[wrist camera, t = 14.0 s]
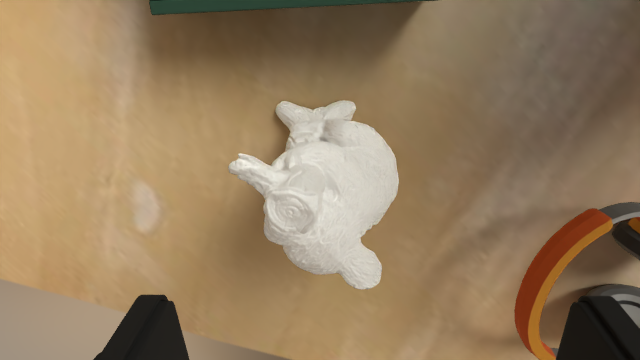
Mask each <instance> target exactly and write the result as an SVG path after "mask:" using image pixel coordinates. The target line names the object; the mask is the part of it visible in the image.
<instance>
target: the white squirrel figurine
mask: <svg viewBox="0 0 640 360" xmlns="http://www.w3.org/2000/svg"><path fill="white" fill-rule="evenodd" d="M355 110H356V106H355V103H354V102H351V101H345V100H341V101H337V102H333V103H331V104H329V105H328V106H326V107H318V108H316V109H313V110H312V109H309V108H306V107H302V106H298V105H296V104H293V103H290V102H288V101H281V102H280V104H278V105H277V107H276V110H275V112H276V114H277V116H278V117H279V118H280V119H281V120H282V122H283V123H284V124H285V125H286V126H287V127H288V128H289V130H290V135H289V138H288V141H287V143H286V150H285V152H284V153H283V154H281V155H280V156H279V157H278V158H276V159H275V160H274V161H273V162H272V165H271V166H270V165H268V164H265V163H264V162H262V161H261V160H259V159H257V158H255V157H254V156H251V155H245V154H242V153H239V154H238V156H239V158H238V159H237V160H236V161H232V162H231V163H230V165H229V167H228V168H229V173H232V174H235V175H238V176H237V178H238V179H240V180H244V181H246V182H247V183H248V184H250V185H252V186H254V188H255V189H256V190H257V191H258V192H259V193H260V194H262V195H263V196H264V199H265V200H266V201H265V203H264V206H263V209H264V213H265V214H266V215H265V219H264V222H265V224H264V234H265V236H266V237H267V239H268V240H270V241H271V242H273V243H277V244H280V245H282V246H283V250H284V252H285V254H286V255H287V256H288V258H289V259H290V260H291V262H292V263H294V264H295V265H296V266H298V267H299V268H301V269H303V270H305V271H309V272H311V273H313V274H322V275H325V274H334V273H339V274H341V275H342V277H343V278H344V280H345V281H346V282H347V284H349V285H350V286H353V287H354V288H356V289H370V288H373V287H374V286H376V285H377V284H378V283H379V282H380V278H381V272H382V266H381V263H380V262H379V260H378V258H377V256H376V255H375V253H374V252H373V251H371V250H369V249H368V248H366V247H365V246H364V245H363V244H362V243H361V239H360V238H361V237H362V236H364V235H365V233H366V230H370V229H371V227H372V225H376V224H378V223H379V221H380V220H381V219H382V217H383V216H384V214H385V213H386V211H387V210H388V208H389V206H390V204H391V203H392V201H394V198H395V197H396V194H397V190H398V184H399V178H398V172H397V165H396V158H395V155H394V153H393V152H392V150H391V148H390V147H389V146H388V145H387V143H386V142H385V140H384V138H382V137H381V135H380V134H379V133H377V132H376V130H375V129H374V128H373V127H370V126H368V125H367V124H364V123H359V122H355V121H350V120H351V119H352V117H353V114H354V112H355Z"/></svg>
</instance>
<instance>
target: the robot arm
mask: <svg viewBox="0 0 640 360" xmlns="http://www.w3.org/2000/svg"><path fill="white" fill-rule="evenodd" d="M94 360H189V356H188V353H187V349H186V345H185V342H184V338H183V335H182V330H181V327H180V323H179V319H178V316H177V312H176V308H175V305H174V302H173V301H168V299H167V297H166V296H165V295H140V296H139V297H138V298H137V299H136V300H135V302H134V303H133V305H132V306H131V308H130V309H129V311H128V313H127V314H126V316H125V317H124V319H123V320H122V322H121V324H120V325H119V326H118V328H117V330H116V331H115V333H114V334H113V336H112V337H111V339H110V340H109V342H108V343H107V345H106V347H105V348H104V350H103V351H102V352H101V353H99V354H98V355H97V356H96V357H95V358H94ZM556 360H640V328H639V327H638V326H637V325H636V324H635V322H634V321H633V320H632V319H631V317H630V316H629V315H628V314H627V313H626V311H625V310H624V309H623V308H622V307H621V305H620V304H619V303H618V302H617V301H616V300H615V299H614V298H613V297H611V296H581V297H580V298H579V300H578V302H574V303H572V305H571V307H570V311H569V314H568V318H567V321H566V325H565V328H564V332H563V335H562V339H561V343H560V346H559V350H558V353H557V357H556Z"/></svg>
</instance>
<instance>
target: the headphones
mask: <svg viewBox="0 0 640 360" xmlns="http://www.w3.org/2000/svg"><path fill="white" fill-rule="evenodd" d="M630 218H632V219H631V220H630V221H629V222H620V221H623V220H626V219H630ZM617 222H619V224H618V225H617V226H616V228H615V229H614V231H613V233H612V235H613V237H614V239H615V241H616V242H617V244H619V245H620V246H621V247H622V248H623V249H624V250H626V251H627V252H628V253H630V254H631V255H633V256H634V257H636V258H637V259H639V260H640V203H635V202H628V203H619V204H615V205H611V206H607V207H605V208H602V209H599V210H598V209H588V210H587V211H585V212H583V213H582V214H580V215H578V216H577V217H575V218H574V219H572V220H571V221H570V222H568V223H567V224H566V225H564V226H563V227H562V228H561V229H560V230H559V231H557V232H556V233H555V234H554V235H553V236H552V237H551V238H550V239H549V240H548V241H547V243H546V244H545V245H544V246H543V247H542V248H541V250H540V251H539V252H538V254H537V255H536V256H535V258H534V260H533V261H532V263H531V265H530V266H529V268H528V270H527V272H526V274H525V276H524V278H523V280H522V283H521V286H520V289H519V292H518V295H517V299H516V304H515V324H516V328H517V331H518V333H519V335H520V337H521V339H522V341H523V343H524V345H525V346H526V347H527V349H528V350H529V351H530V352H531V353H533V354H534V355H535V356H536V357H537V358H538V359H539V360H556V357H557V353H558V350H559V349H556V348H549V347H548V346H547V345H546V344H544V343H543V342H542V341H541V340H540V335H539V323H540V317H541V313H542V309H543V307H544V304H545V301H546V298H547V296H548V294H549V292H550V290H551V288H552V286H553V284H554V283H555V281H556V279H557V278H558V276H559V275H560V274H561V272H562V271H563V269H564V268H565V267H566V266H567V265H568V263H569V262H570V261H571V260H572V259H573V258H574V257H575V256H576V255H577V254H578V253H579V252H580V251H582V250H583V249H584V248H585V247H586V246H587V245H589V244H590V243H591V242H593V241H594V240H596V239H597V238H599V237H600V236H602V235H603V234H605V233H607V232H609V231H610V230H611V229H612V227H613V224H615V223H617ZM586 296H611V297H613V298H614V299H615V300H616V301H617V302H618V303H619V304H620V305H621V307H622V308H623V309H624V310H625V311H626V313H627V314H628V315H629V316H630V317H631V319H632V320H633V321H634V322H635V324H636V325H637V326H638V327H639V328H640V288H637V287H634V286H628V285H621V284H609V285H604V286H599V287H597V288H594V289H592V290H591V291H590V292H588V293H587V294H586Z"/></svg>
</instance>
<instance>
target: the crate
mask: <svg viewBox="0 0 640 360" xmlns="http://www.w3.org/2000/svg"><path fill="white" fill-rule="evenodd" d="M149 1H150V2H149V4H150V9H151V14H152V15H166V14H185V13H205V12H224V11H243V10H262V9H282V8H301V7H320V6H340V5H359V4H378V3H398V2H417V1H436V0H149Z"/></svg>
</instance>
